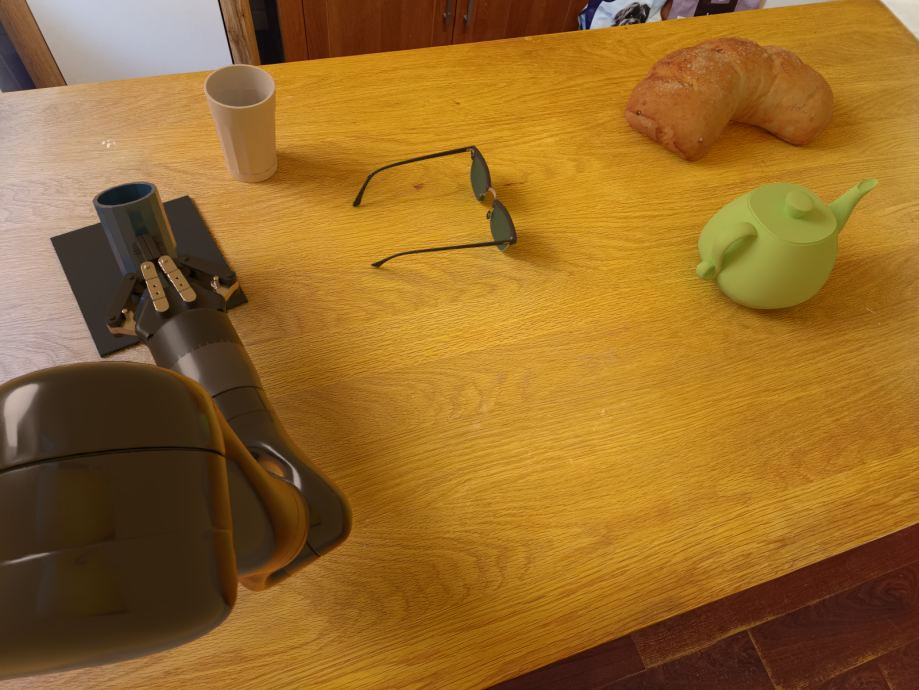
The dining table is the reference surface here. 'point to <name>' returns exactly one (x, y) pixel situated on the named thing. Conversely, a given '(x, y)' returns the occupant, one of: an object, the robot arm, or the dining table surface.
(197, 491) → the robot arm
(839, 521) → the dining table surface
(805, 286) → the teapot
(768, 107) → the bread
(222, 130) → the cup
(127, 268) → the tumbler
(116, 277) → the mat
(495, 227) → the sunglasses
